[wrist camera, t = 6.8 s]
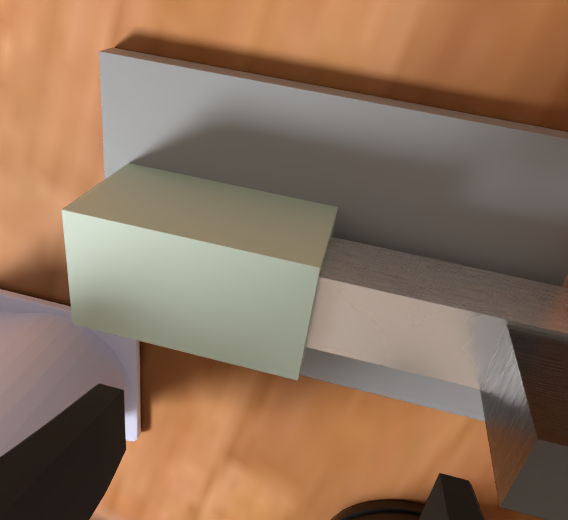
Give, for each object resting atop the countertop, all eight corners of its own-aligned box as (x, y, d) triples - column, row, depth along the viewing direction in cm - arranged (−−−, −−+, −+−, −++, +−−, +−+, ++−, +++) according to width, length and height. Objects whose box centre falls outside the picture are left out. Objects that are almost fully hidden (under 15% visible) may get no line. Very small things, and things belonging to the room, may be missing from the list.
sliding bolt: (252, 285, 20) (181, 426, 14) (259, 221, 19) (186, 345, 12) (616, 370, 19) (718, 569, 12) (655, 307, 17) (793, 497, 11)
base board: (122, 315, 25) (111, 328, 24) (113, 47, 19) (99, 51, 18) (604, 434, 22) (612, 453, 21) (777, 170, 16) (798, 182, 15)
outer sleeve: (130, 262, 22) (72, 324, 18) (128, 162, 20) (61, 209, 16) (317, 306, 21) (297, 380, 17) (337, 207, 19) (320, 267, 15)
